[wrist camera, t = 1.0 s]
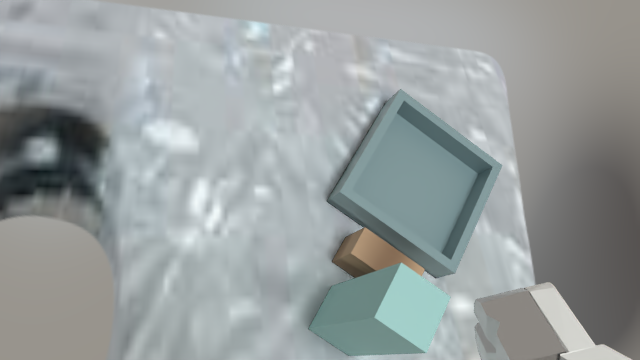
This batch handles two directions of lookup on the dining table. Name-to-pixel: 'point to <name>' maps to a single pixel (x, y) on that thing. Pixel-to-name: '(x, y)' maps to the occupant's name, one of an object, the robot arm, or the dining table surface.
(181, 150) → the dining table surface
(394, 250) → the brown rectangular block
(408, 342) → the peg
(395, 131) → the tray
